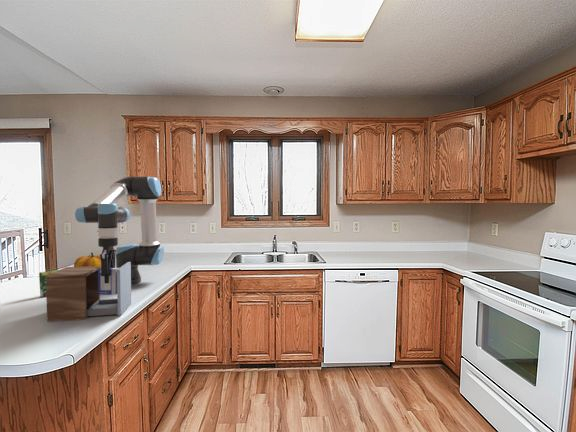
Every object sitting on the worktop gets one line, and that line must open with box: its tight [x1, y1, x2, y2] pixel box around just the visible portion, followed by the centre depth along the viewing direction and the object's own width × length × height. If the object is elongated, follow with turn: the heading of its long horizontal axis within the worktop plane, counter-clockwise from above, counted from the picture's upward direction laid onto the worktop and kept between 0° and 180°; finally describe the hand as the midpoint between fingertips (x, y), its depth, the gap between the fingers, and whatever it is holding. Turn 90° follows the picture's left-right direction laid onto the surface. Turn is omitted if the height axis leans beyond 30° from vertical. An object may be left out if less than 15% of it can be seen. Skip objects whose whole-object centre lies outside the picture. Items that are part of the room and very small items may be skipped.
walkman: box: [98, 267, 119, 296], centre depth 136 cm, size 8×3×12 cm, turn 94°
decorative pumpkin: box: [73, 252, 101, 268], centre depth 203 cm, size 20×22×15 cm
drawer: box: [87, 262, 132, 317], centre depth 137 cm, size 17×14×20 cm
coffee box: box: [38, 268, 60, 298], centre depth 158 cm, size 8×3×13 cm, turn 150°
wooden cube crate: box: [45, 266, 101, 323], centre depth 133 cm, size 17×14×19 cm
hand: (108, 288), depth 136 cm, fingers closed on walkman, 3 cm apart
